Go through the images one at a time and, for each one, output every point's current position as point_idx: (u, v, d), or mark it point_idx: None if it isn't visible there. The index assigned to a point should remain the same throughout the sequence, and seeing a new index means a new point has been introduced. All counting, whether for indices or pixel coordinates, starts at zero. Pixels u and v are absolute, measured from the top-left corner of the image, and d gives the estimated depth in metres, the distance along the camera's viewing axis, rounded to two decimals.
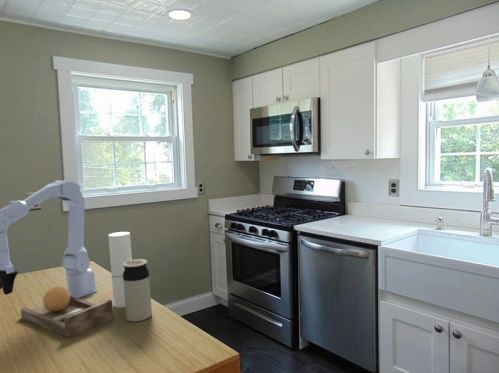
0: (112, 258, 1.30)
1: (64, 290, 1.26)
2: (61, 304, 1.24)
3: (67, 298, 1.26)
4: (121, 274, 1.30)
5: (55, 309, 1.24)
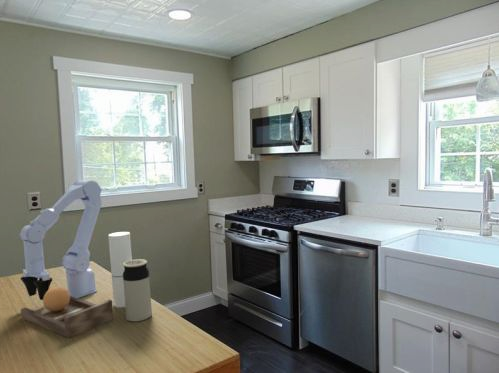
0: (112, 258, 1.30)
1: (64, 290, 1.26)
2: (61, 304, 1.24)
3: (67, 298, 1.26)
4: (121, 274, 1.30)
5: (55, 309, 1.24)
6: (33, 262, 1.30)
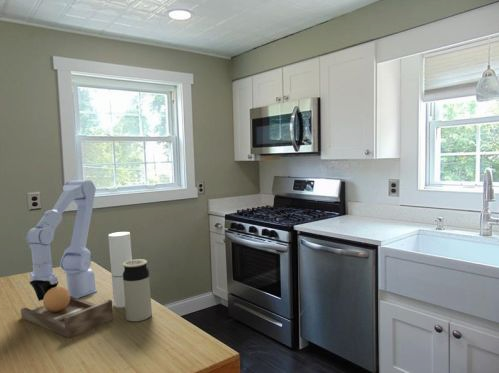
0: (112, 258, 1.30)
1: (64, 290, 1.26)
2: (61, 304, 1.24)
3: (67, 299, 1.26)
4: (121, 274, 1.30)
5: (55, 309, 1.24)
6: (41, 265, 1.27)
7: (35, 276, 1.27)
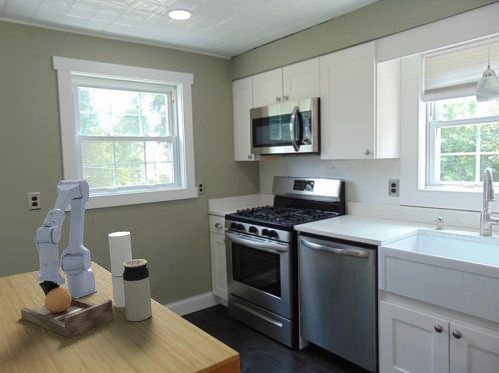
0: (112, 258, 1.30)
1: (67, 294, 1.25)
2: (62, 308, 1.24)
3: (69, 302, 1.25)
4: (121, 274, 1.30)
5: (56, 312, 1.24)
6: (48, 265, 1.24)
7: (42, 276, 1.24)
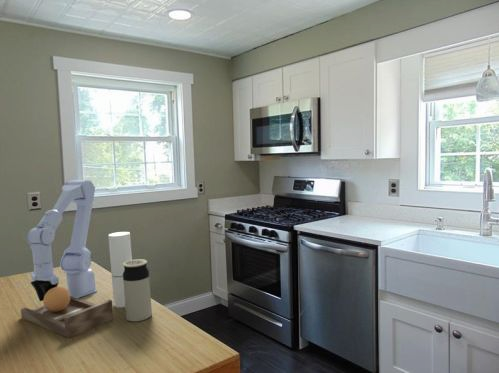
0: (112, 258, 1.30)
1: (65, 291, 1.26)
2: (61, 305, 1.24)
3: (68, 299, 1.26)
4: (121, 274, 1.30)
5: (55, 310, 1.24)
6: (42, 265, 1.27)
7: (36, 276, 1.27)
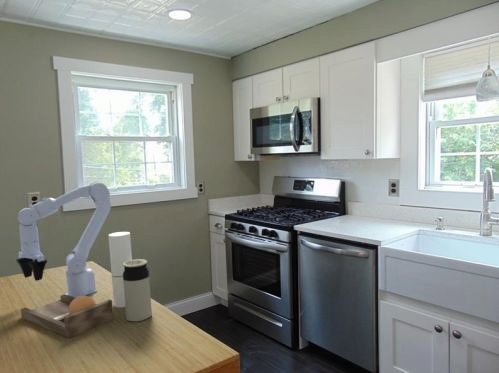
0: (112, 258, 1.30)
1: None
2: None
3: None
4: (121, 274, 1.30)
5: (72, 301, 1.19)
6: (28, 244, 1.34)
7: (23, 254, 1.34)
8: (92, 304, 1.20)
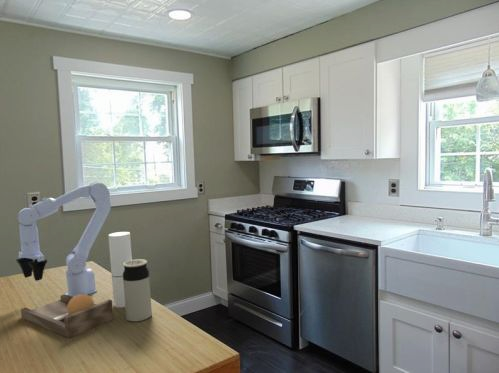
0: (112, 258, 1.30)
1: None
2: None
3: None
4: (121, 274, 1.30)
5: None
6: (28, 244, 1.34)
7: (23, 254, 1.34)
8: (89, 298, 1.22)
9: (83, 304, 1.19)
